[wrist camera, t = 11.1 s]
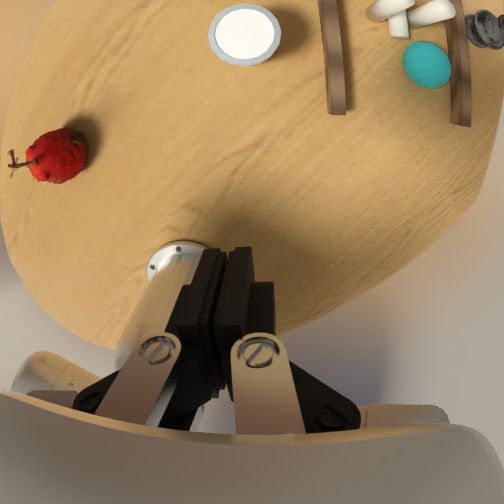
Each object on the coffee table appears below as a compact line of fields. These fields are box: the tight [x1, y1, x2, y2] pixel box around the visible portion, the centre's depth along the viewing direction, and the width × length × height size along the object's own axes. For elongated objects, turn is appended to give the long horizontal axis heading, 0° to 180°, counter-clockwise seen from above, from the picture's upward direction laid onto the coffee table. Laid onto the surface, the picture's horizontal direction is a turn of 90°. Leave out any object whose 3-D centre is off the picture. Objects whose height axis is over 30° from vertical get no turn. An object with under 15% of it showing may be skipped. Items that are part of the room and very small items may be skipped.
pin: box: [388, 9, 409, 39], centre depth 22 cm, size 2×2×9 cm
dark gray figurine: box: [464, 10, 504, 49], centre depth 17 cm, size 6×6×12 cm
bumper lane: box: [318, 0, 471, 127], centre depth 23 cm, size 25×19×3 cm
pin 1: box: [366, 0, 415, 23], centre depth 20 cm, size 2×2×9 cm
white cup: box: [208, 3, 281, 67], centre depth 25 cm, size 7×7×7 cm
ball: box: [403, 41, 451, 89], centre depth 24 cm, size 6×6×6 cm
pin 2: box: [406, 0, 456, 29], centre depth 20 cm, size 2×2×9 cm
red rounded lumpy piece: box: [8, 128, 86, 184], centre depth 28 cm, size 8×7×15 cm
